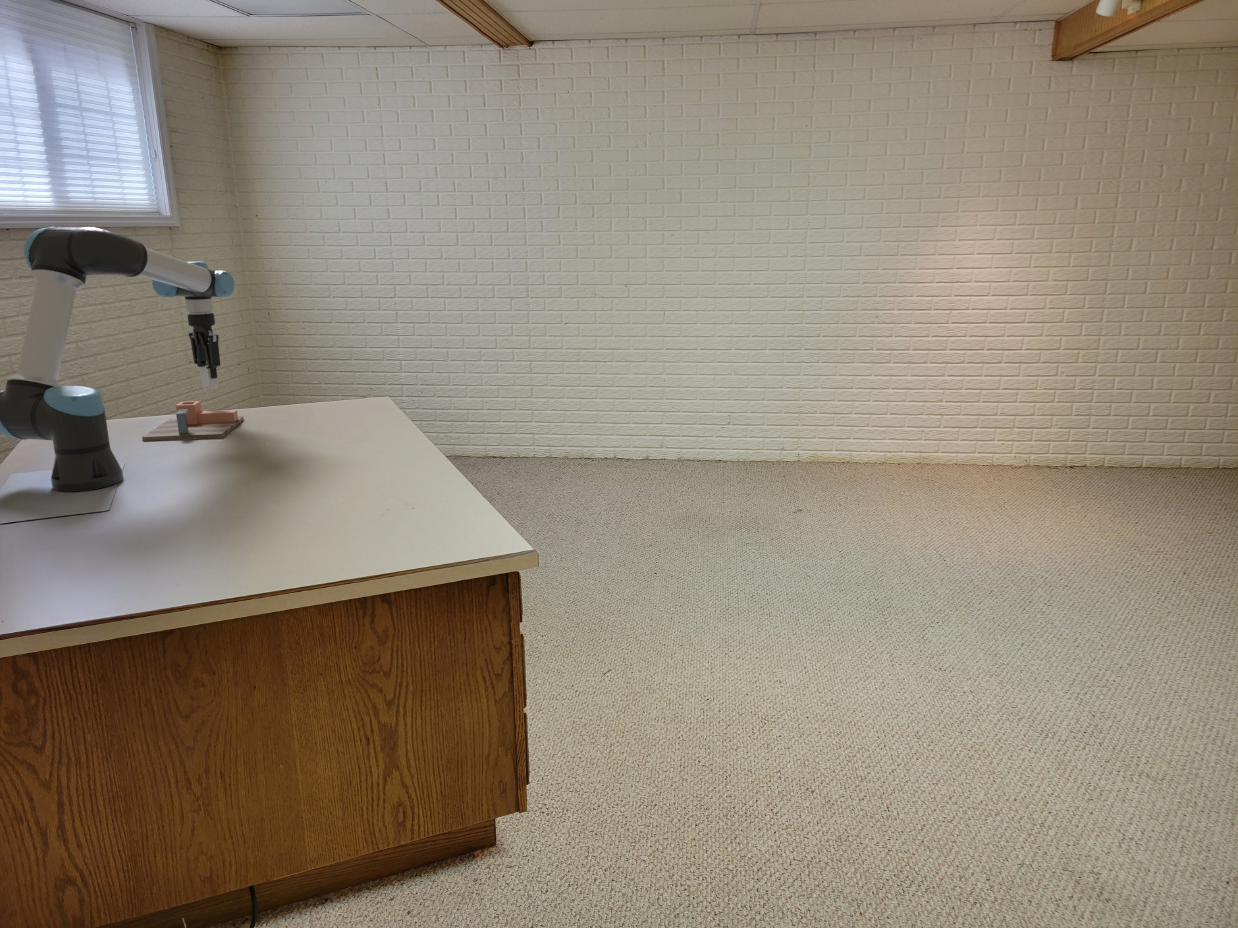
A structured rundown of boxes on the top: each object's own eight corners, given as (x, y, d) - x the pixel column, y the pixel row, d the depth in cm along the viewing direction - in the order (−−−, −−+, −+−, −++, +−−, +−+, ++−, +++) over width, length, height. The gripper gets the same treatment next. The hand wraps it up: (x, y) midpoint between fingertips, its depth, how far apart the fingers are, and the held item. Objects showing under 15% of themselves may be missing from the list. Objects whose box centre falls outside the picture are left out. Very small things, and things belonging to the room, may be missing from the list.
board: (222, 438, 261) (221, 434, 261) (142, 441, 258) (142, 437, 258) (243, 420, 284) (243, 416, 284) (170, 422, 281) (170, 418, 281)
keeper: (188, 437, 262) (185, 413, 260) (179, 438, 261) (176, 413, 259) (191, 433, 267) (187, 409, 265) (182, 433, 266) (178, 409, 264)
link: (238, 418, 280) (236, 400, 279) (234, 422, 275) (231, 403, 274) (184, 420, 278) (181, 401, 277) (178, 424, 273) (175, 405, 271)
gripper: (226, 313, 273) (236, 388, 279) (197, 310, 282) (207, 383, 289) (203, 315, 267) (213, 392, 273) (174, 312, 277) (184, 386, 283)
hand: (210, 387), depth 281 cm, fingers open, 4 cm apart
